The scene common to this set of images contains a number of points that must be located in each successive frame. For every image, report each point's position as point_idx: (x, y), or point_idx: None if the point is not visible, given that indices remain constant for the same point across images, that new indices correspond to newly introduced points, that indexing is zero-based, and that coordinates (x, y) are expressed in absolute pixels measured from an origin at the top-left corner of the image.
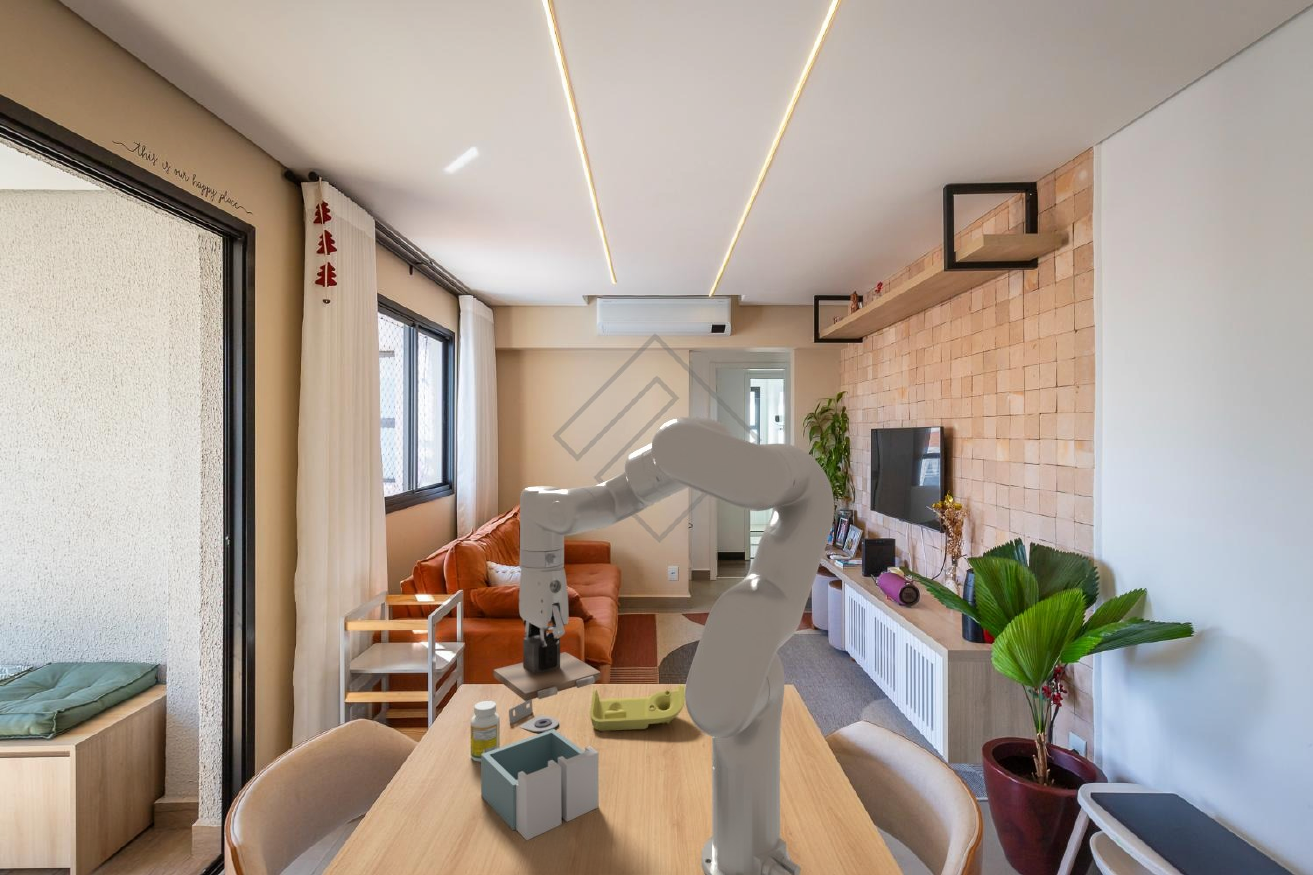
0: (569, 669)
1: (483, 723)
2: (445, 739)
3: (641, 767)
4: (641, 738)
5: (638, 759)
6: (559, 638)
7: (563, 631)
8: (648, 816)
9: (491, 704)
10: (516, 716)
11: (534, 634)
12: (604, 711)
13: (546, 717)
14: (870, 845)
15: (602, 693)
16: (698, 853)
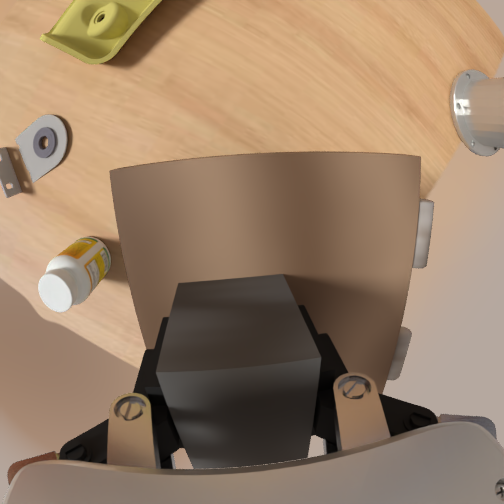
0: (327, 249)
1: (85, 293)
2: (34, 288)
3: (270, 52)
4: (186, 7)
5: (245, 42)
6: (420, 406)
7: (491, 430)
8: (380, 125)
9: (55, 283)
10: (13, 180)
11: (173, 440)
12: (85, 34)
13: (29, 130)
14: (494, 25)
15: (18, 23)
16: (451, 131)
